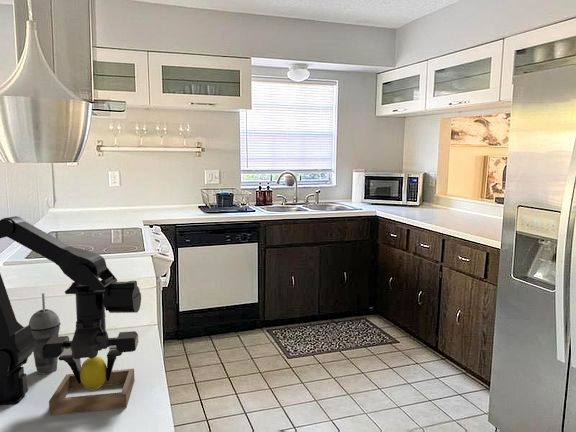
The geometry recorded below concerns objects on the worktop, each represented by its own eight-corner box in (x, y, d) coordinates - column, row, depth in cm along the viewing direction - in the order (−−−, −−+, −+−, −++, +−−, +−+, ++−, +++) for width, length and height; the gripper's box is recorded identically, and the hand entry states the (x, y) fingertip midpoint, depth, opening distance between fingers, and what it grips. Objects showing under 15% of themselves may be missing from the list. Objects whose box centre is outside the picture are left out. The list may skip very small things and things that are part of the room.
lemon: (81, 387, 104) (80, 352, 103) (108, 383, 106) (106, 349, 105) (80, 398, 99) (78, 362, 98) (107, 394, 101) (106, 358, 100)
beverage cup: (60, 362, 122) (56, 287, 120) (65, 371, 116) (61, 293, 114) (28, 369, 118) (24, 291, 116) (32, 379, 112) (27, 298, 110)
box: (49, 415, 95) (48, 401, 95) (67, 386, 108) (66, 374, 107) (126, 407, 98) (125, 393, 97) (134, 380, 110) (134, 368, 110)
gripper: (31, 327, 91) (35, 403, 93) (130, 321, 95) (133, 394, 96) (49, 311, 102) (52, 379, 104) (137, 306, 106) (139, 372, 107)
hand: (94, 381), depth 102 cm, fingers closed on lemon, 5 cm apart
